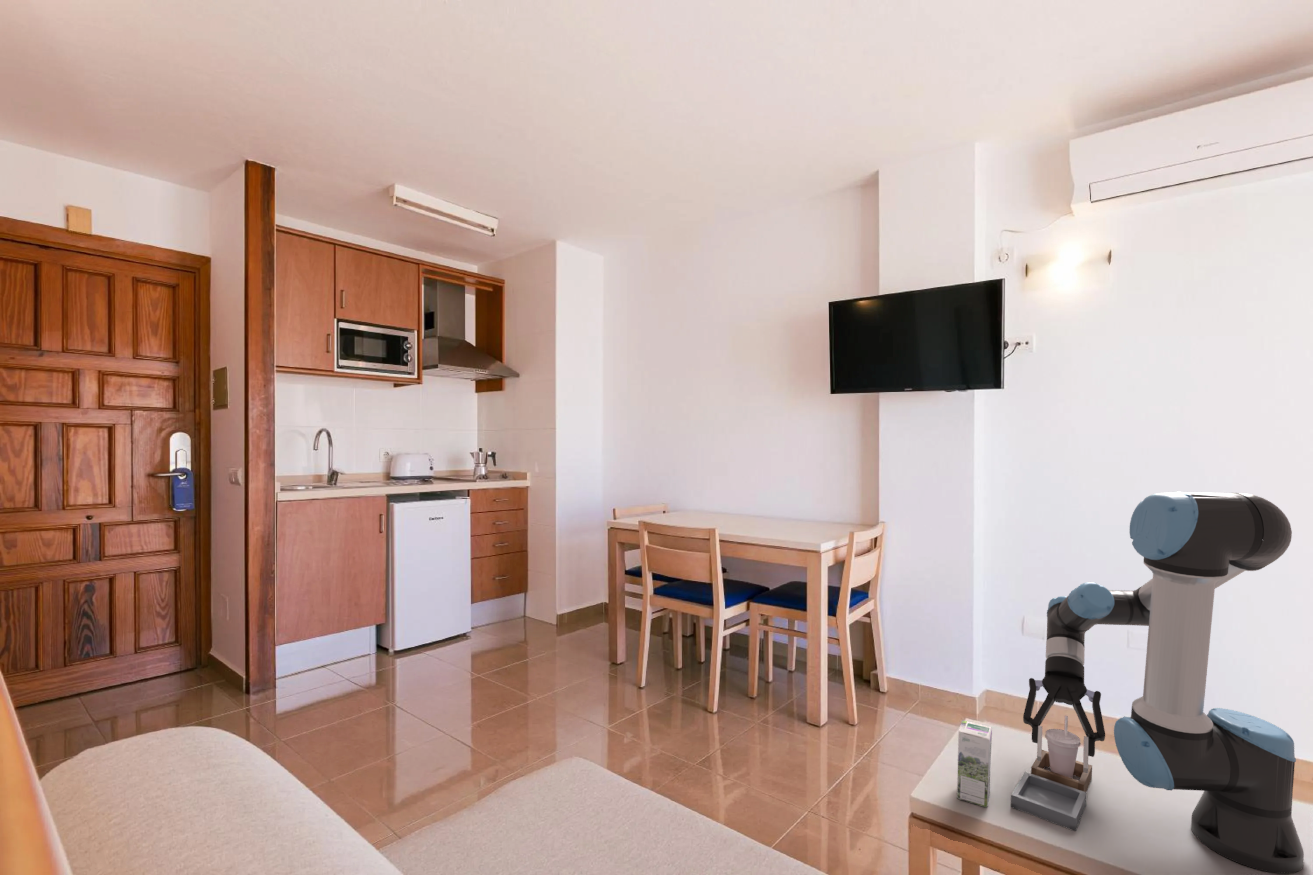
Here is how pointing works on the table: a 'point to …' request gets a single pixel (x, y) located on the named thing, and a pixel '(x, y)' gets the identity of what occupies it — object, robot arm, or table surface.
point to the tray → (1049, 800)
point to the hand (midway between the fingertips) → (1062, 764)
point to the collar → (1078, 771)
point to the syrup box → (974, 763)
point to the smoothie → (1062, 750)
